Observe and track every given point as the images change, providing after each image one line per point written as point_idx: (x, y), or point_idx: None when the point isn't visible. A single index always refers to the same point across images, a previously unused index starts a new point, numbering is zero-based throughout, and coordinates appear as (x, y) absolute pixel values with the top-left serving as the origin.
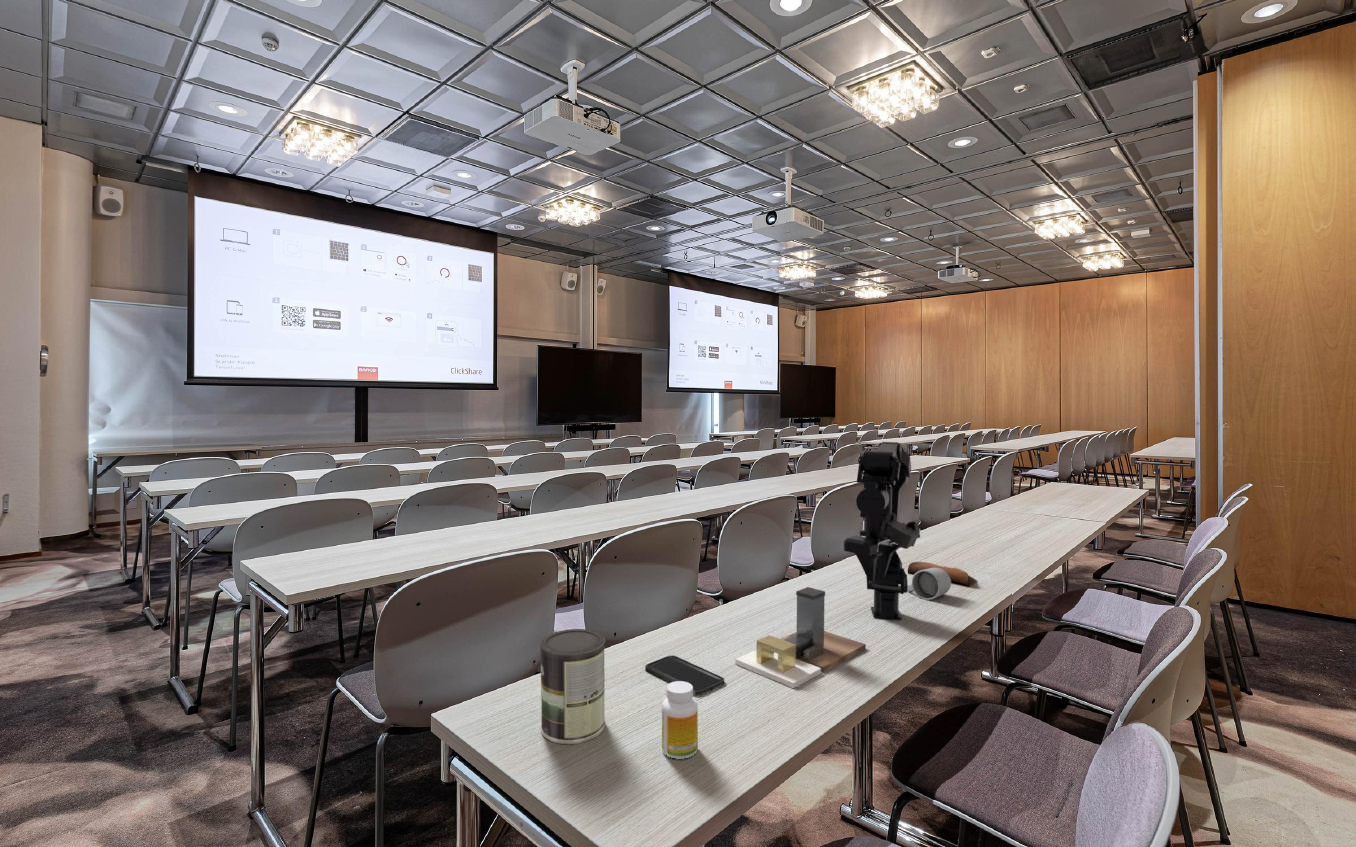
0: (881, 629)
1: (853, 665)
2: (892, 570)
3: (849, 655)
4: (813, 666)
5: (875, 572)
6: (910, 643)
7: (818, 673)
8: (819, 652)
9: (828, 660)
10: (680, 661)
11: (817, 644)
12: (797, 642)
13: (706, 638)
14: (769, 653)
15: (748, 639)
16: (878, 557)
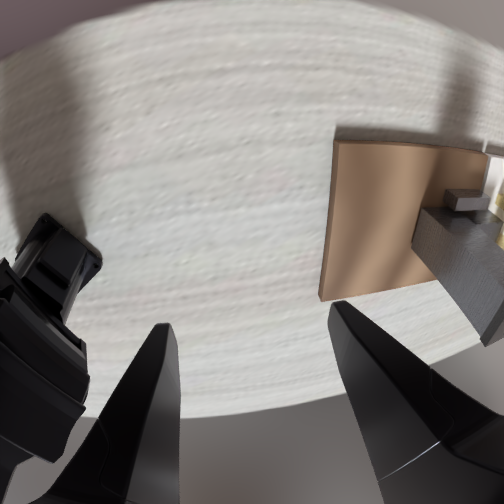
0: (153, 196)
1: (435, 116)
2: (8, 351)
3: (411, 144)
4: (491, 170)
5: (67, 380)
6: (181, 69)
7: (490, 154)
8: (459, 191)
9: (465, 162)
10: None
11: (459, 208)
12: (487, 231)
13: (434, 335)
14: (497, 241)
15: (417, 312)
16: (170, 477)
